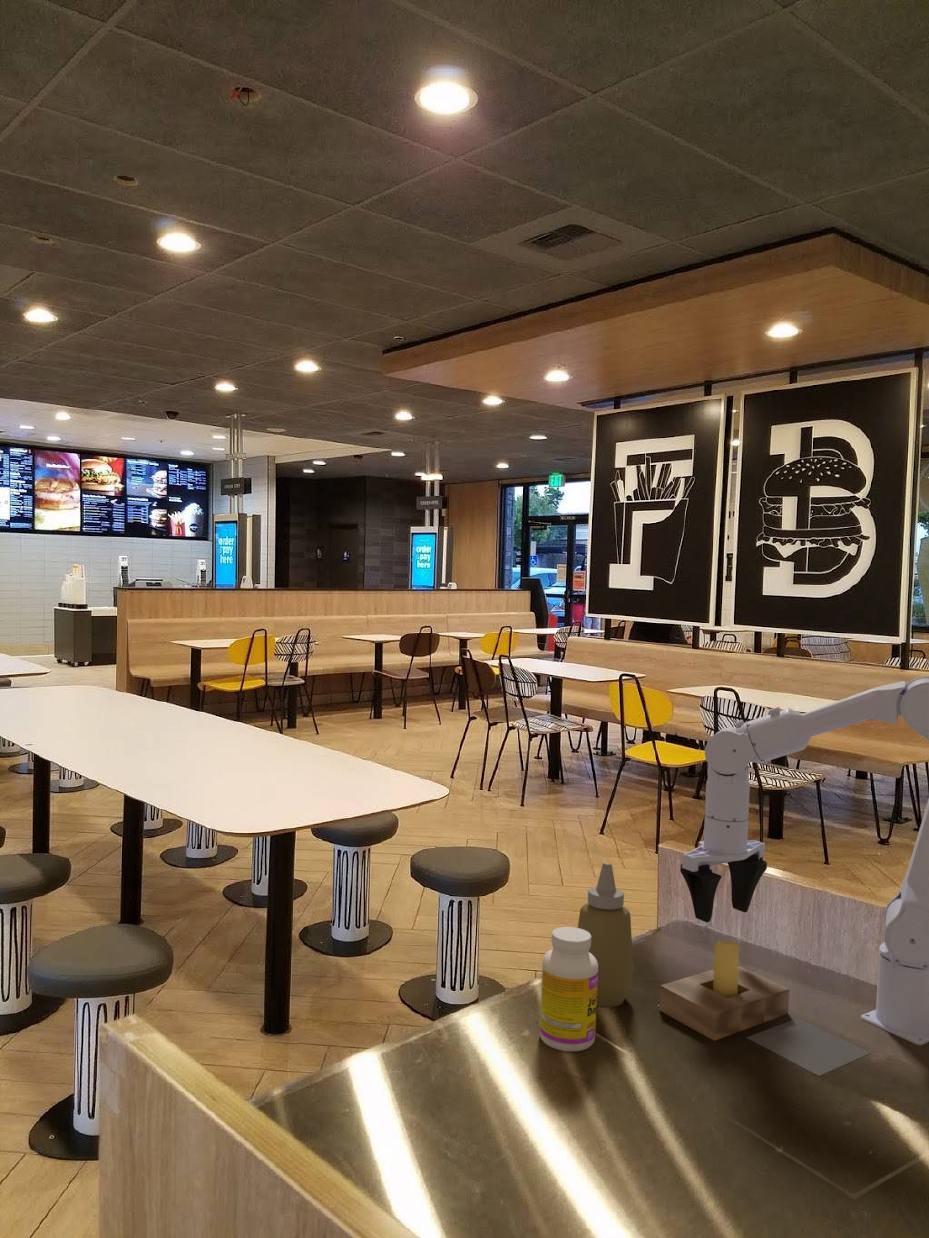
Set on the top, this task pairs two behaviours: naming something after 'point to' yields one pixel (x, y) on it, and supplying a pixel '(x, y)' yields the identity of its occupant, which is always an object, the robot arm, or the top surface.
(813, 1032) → the mat
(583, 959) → the supplement bottle
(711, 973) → the walnut block
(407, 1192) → the top surface
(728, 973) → the peg
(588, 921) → the squeeze bottle
